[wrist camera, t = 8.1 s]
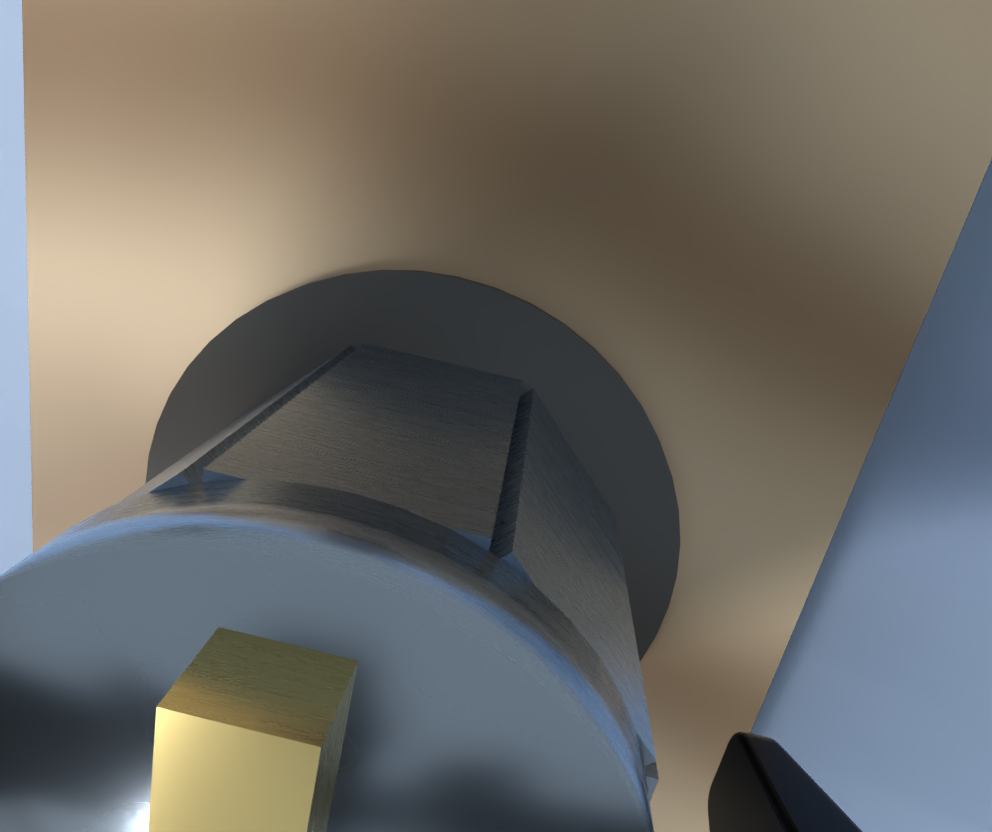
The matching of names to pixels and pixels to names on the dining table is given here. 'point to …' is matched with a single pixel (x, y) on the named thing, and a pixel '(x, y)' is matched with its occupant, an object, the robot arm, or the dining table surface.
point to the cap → (336, 628)
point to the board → (516, 260)
